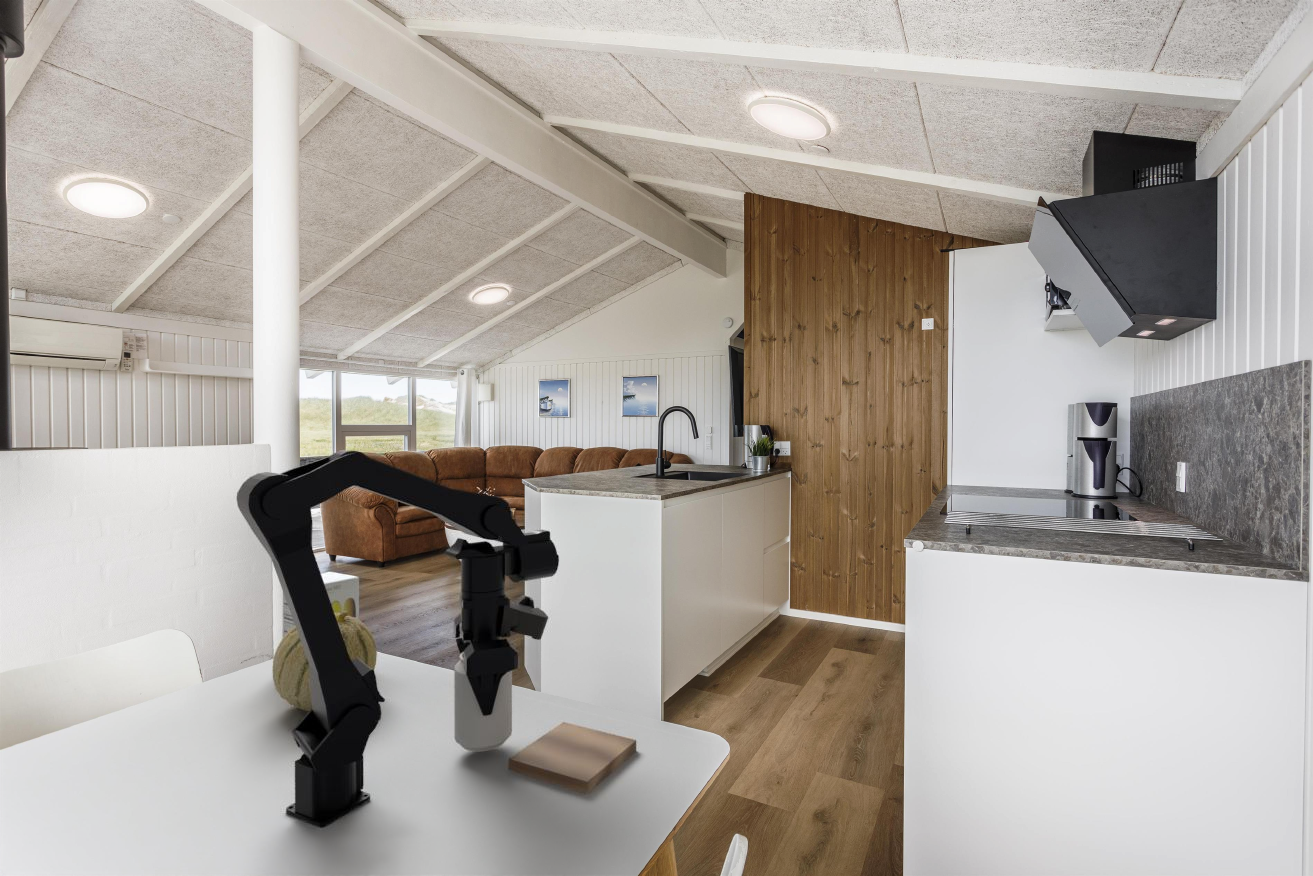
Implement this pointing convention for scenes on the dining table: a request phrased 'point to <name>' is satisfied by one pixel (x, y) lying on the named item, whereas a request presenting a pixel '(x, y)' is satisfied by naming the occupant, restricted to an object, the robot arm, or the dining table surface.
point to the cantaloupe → (295, 667)
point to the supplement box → (332, 597)
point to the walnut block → (573, 756)
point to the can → (469, 719)
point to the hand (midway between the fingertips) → (483, 703)
